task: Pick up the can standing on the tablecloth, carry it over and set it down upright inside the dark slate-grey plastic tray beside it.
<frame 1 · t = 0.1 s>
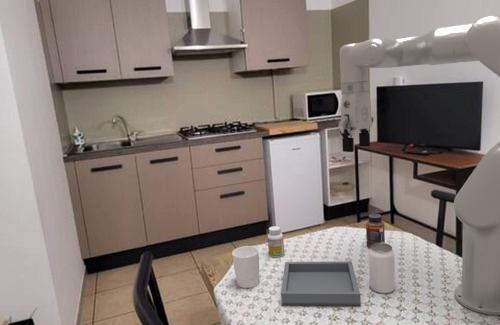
hand: (356, 148, 106), 37 cm above the table, tool pointing down, fingers open, 9 cm apart
supplement bottle 2: (276, 255, 126), on the table
white cup: (248, 283, 109), on the table
supplement bottle: (375, 247, 126), on the table
tray: (319, 287, 103), on the table
can: (382, 288, 100), on the table
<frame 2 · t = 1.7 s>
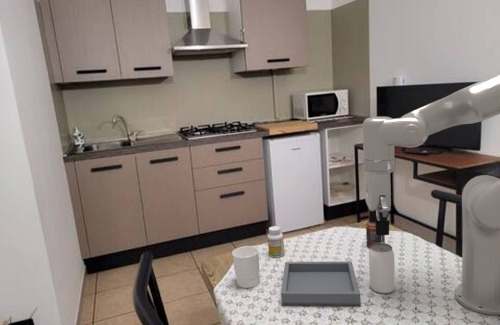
hand: (378, 227, 97), 17 cm above the table, tool pointing down, fingers open, 9 cm apart
nothing on the table moved.
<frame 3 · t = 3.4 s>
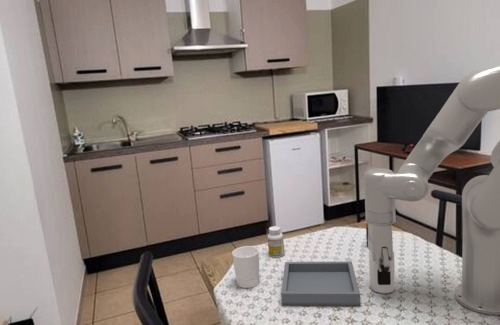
hand: (381, 277, 99), 3 cm above the table, tool pointing down, fingers closed on can, 5 cm apart
can: (382, 288, 100), on the table, touching gripper
everything else where it was.
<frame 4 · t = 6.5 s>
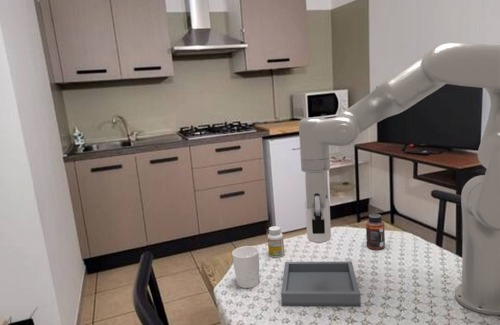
hand: (318, 228, 99), 18 cm above the table, tool pointing down, fingers closed on can, 5 cm apart
can: (319, 239, 100), point 15 cm above the table, touching gripper
everything else where it was.
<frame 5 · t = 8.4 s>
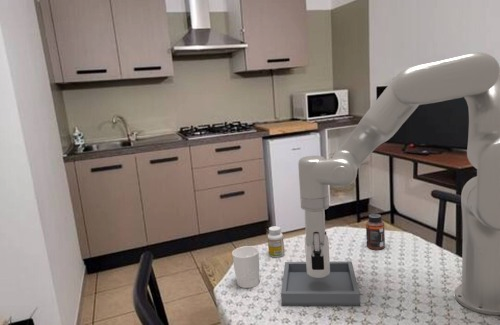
hand: (317, 263, 101), 8 cm above the table, tool pointing down, fingers closed on can, 5 cm apart
can: (318, 273, 102), point 4 cm above the table, touching gripper
everything else where it was.
when the fingers open (5 cm above the table, at t = 9.8 s): can drops 1 cm, resting on tray.
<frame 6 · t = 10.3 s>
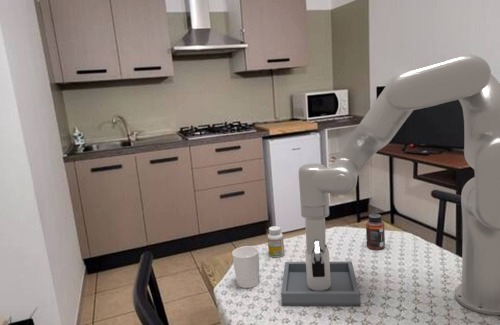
hand: (318, 267, 102), 6 cm above the table, tool pointing down, fingers open, 9 cm apart
can: (319, 286, 102), point 1 cm above the table, touching tray
everything else where it was.
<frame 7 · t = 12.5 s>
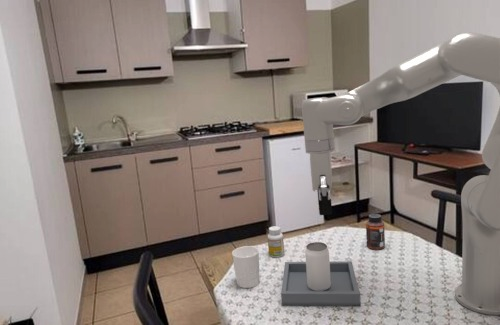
hand: (325, 208, 97), 24 cm above the table, tool pointing down, fingers open, 9 cm apart
nothing on the table moved.
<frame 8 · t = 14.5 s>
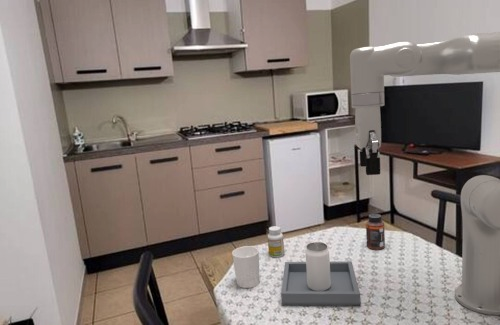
hand: (369, 170, 90), 34 cm above the table, tool pointing down, fingers open, 9 cm apart
nothing on the table moved.
at the end: can inside the target area on the tray (0.5 cm from its centre), point 0.6 cm above the tray's base; can tilted 0°; the gripper is holding nothing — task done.
